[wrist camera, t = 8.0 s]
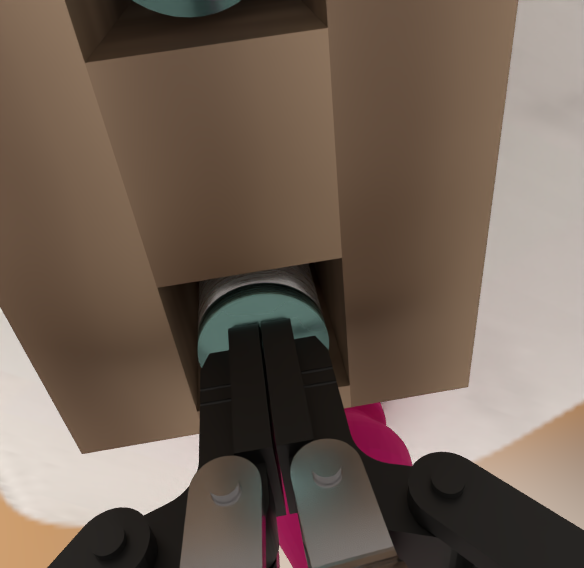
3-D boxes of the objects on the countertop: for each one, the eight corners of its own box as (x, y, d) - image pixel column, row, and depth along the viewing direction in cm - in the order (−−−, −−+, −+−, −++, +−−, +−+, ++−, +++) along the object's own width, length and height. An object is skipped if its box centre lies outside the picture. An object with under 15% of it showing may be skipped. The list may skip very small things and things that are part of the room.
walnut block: (381, -275, 14) (580, -478, 6) (383, 230, 22) (468, 386, 15) (-55, -222, 13) (-379, -376, 6) (123, 272, 22) (82, 454, 15)
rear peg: (283, 153, 18) (324, 287, 12) (293, 232, 20) (333, 384, 14) (192, 167, 18) (183, 310, 12) (210, 245, 20) (211, 405, 14)
